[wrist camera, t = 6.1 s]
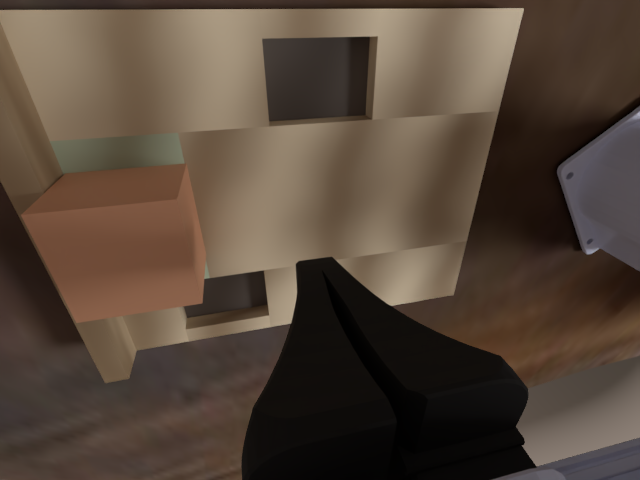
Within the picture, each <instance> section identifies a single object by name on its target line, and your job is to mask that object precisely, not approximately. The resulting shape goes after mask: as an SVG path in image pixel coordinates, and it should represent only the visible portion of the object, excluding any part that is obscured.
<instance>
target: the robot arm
mask: <svg viewBox="0 0 640 480" xmlns="http://www.w3.org/2000/svg"><path fill="white" fill-rule="evenodd" d="M557 175H558V178H559V181H560V184H561V187H562V190H563V193H564V196H565V199H566V202H567V205H568V208H569V211H570V214H571V218H572V221H573V224H574V227H575V230H576V233H577V236H578V239H579V242H580V245H581V248H582V251H583V252H584V253H586V254H592V253H594V252H595V251H597V250H598V249H600V248H601V249H602V250H604V251H606V252H607V253H609V254H611V255H612V256H614V257H616V258H618V259H619V260H621V261H623V262H624V263H626V264H628V265H629V266H631V267H633V268H634V269H636V270H638V271H640V106H639V107H638V108H636V109H635V110H634V111H632V112H631V113H630V114H628V115H627V116H626V117H624V118H623V119H621V120H620V121H619V122H617V123H616V124H615V125H613V126H612V127H611V128H609V129H608V130H606V131H605V132H604V133H602V134H601V135H600V136H598V137H597V138H596V139H594V140H593V141H591V142H590V143H589V144H587V145H586V146H585V147H583V148H582V149H581V150H579V151H578V152H576V153H575V154H574V155H572V156H571V157H570V158H568V159H567V160H566V161H564V162H563V163H562V164H560V165H559V167H558V169H557ZM296 281H297V297H296V303H295V308H294V313H293V318H292V322H291V325H290V329H289V332H288V335H287V338H286V341H285V344H284V346H283V349H282V352H281V354H280V357H279V359H278V361H277V364H276V366H275V368H274V370H273V372H272V374H271V376H270V378H269V380H268V382H267V384H266V386H265V388H264V390H263V391H262V393H261V395H260V396H259V398H258V400H257V402H256V403H255V405H254V407H253V410H252V414H251V417H250V421H249V425H248V428H247V432H246V437H245V441H244V447H243V453H242V480H640V438H637V439H633V440H630V441H626V442H623V443H619V444H615V445H612V446H609V447H605V448H601V449H598V450H594V451H591V452H587V453H584V454H580V455H576V456H573V457H569V458H566V459H562V460H558V461H555V462H551V463H548V464H544V465H541V466H537V467H536V466H535V464H534V463H533V461H532V460H531V459H530V457H529V455H528V454H527V453H526V451H525V450H524V449H523V447H522V446H521V445H524V443H525V441H524V438H523V437H522V435H521V434H520V432H519V431H518V429H517V428H516V425H517V423H518V421H519V419H520V417H521V415H522V413H523V411H524V409H525V406H526V403H527V400H528V388H527V387H526V386H525V384H524V383H523V382H522V381H521V379H520V378H519V377H518V376H517V374H516V373H515V372H514V371H513V369H512V368H511V367H510V366H509V365H508V364H507V363H506V362H505V360H504V359H503V358H502V357H501V356H499V355H496V354H493V353H490V352H487V351H484V350H481V349H478V348H475V347H472V346H469V345H467V344H464V343H462V342H459V341H457V340H454V339H452V338H450V337H447V336H445V335H443V334H440V333H438V332H436V331H434V330H432V329H430V328H428V327H426V326H424V325H422V324H420V323H418V322H416V321H414V320H413V319H411V318H409V317H407V316H406V315H404V314H403V313H401V312H399V311H398V310H396V309H394V308H393V307H391V306H390V305H388V304H387V303H385V302H384V301H383V300H381V299H380V298H379V297H377V296H376V295H375V294H373V293H372V292H371V291H370V290H368V289H367V288H366V287H365V286H364V285H362V284H361V283H360V282H359V281H358V280H357V279H355V278H354V277H353V276H352V275H351V274H350V273H349V272H348V271H347V270H346V269H345V268H344V267H342V266H341V265H340V264H339V263H338V262H337V261H336V260H335V259H334V258H333V257H325V258H317V259H310V260H303V261H298V262H297V263H296Z"/></svg>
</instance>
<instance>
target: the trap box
mask: <svg viewBox="0 0 640 480" xmlns="http://www.w3.org/2000/svg"><path fill="white" fill-rule="evenodd" d="M523 11H524V8H454V9H159V10H0V181H1V183H2V185H3V187H4V189H5V191H6V193H7V195H8V197H9V199H10V201H11V203H12V205H13V206H14V208H15V210H16V212H17V214H18V216H19V218H20V220H21V222H22V224H23V226H24V228H25V230H26V231H27V233H28V235H29V237H30V239H31V241H32V243H33V245H34V247H35V249H36V251H37V253H38V255H39V256H40V258H41V260H42V262H43V264H44V266H45V268H46V270H47V272H48V274H49V276H50V278H51V280H52V282H53V283H54V285H55V287H56V289H57V291H58V293H59V295H60V297H61V299H62V301H63V303H64V305H65V307H66V308H67V310H68V312H69V314H70V316H71V318H72V320H73V322H74V324H75V326H76V328H77V330H78V332H79V333H80V335H81V337H82V339H83V341H84V343H85V345H86V347H87V349H88V351H89V353H90V355H91V357H92V358H93V360H94V362H95V364H96V366H97V368H98V370H99V372H100V374H101V376H102V378H103V380H104V382H105V383H108V382H113V381H119V380H124V379H129V377H130V373H131V369H132V366H133V362H134V358H135V354H136V351H137V350H142V349H148V348H154V347H159V346H165V345H171V344H176V343H182V342H188V341H194V340H199V339H205V338H211V337H216V336H222V335H228V334H233V333H239V332H245V331H251V330H256V329H262V328H268V327H273V326H279V325H285V324H290V323H291V322H292V318H293V313H294V308H295V303H296V297H297V281H296V263H297V262H298V261H303V260H310V259H317V258H325V257H333V258H334V259H335V260H336V261H337V262H338V263H339V264H340V265H341V266H342V267H344V268H345V269H346V270H347V271H348V272H349V273H350V274H351V275H352V276H353V277H354V278H355V279H357V280H358V281H359V282H360V283H361V284H362V285H364V286H365V287H366V288H367V289H368V290H370V291H371V292H372V293H373V294H375V295H376V296H377V297H379V298H380V299H381V300H383V301H384V302H385V303H387V304H388V305H390V306H393V305H399V304H404V303H410V302H416V301H421V300H427V299H433V298H438V297H444V296H450V295H454V291H455V287H456V283H457V279H458V275H459V271H460V266H461V262H462V258H463V254H464V250H465V246H466V242H467V238H468V234H469V230H470V226H471V222H472V218H473V214H474V210H475V206H476V201H477V197H478V193H479V189H480V185H481V181H482V177H483V173H484V169H485V165H486V161H487V157H488V153H489V149H490V145H491V141H492V136H493V132H494V128H495V124H496V120H497V116H498V112H499V108H500V104H501V100H502V96H503V92H504V88H505V84H506V80H507V76H508V71H509V67H510V63H511V59H512V55H513V51H514V47H515V43H516V39H517V35H518V31H519V27H520V23H521V19H522V15H523ZM186 163H187V168H188V172H189V177H190V182H191V186H192V191H193V195H194V200H195V205H196V209H197V214H198V219H199V223H200V228H201V232H202V237H203V242H204V246H205V251H206V263H205V276H204V290H203V303H202V304H196V305H189V306H183V307H176V308H170V309H164V310H157V311H151V312H144V313H138V314H132V315H125V316H119V317H112V318H106V319H100V320H93V321H87V322H81V323H76V321H75V320H74V318H73V316H72V314H71V312H70V310H69V308H68V306H67V304H66V302H65V300H64V298H63V296H62V294H61V292H60V290H59V288H58V286H57V284H56V283H55V281H54V279H53V277H52V275H51V273H50V271H49V269H48V267H47V265H46V263H45V261H44V259H43V257H42V255H41V253H40V251H39V249H38V247H37V246H36V244H35V242H34V240H33V238H32V236H31V234H30V232H29V230H28V228H27V226H26V224H25V222H24V220H23V218H22V216H21V214H23V213H24V212H25V211H26V210H27V209H28V208H29V207H30V206H31V205H32V204H33V203H34V202H35V201H36V200H37V199H39V198H40V197H41V196H42V195H43V194H44V193H45V192H46V191H47V190H48V189H49V188H50V187H51V186H52V185H54V184H55V183H56V182H57V181H58V180H59V179H60V178H61V177H62V176H63V175H64V174H65V173H77V172H89V171H101V170H113V169H125V168H137V167H149V166H161V165H174V164H186Z"/></svg>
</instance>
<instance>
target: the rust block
mask: <svg viewBox="0 0 640 480" xmlns="http://www.w3.org/2000/svg"><path fill="white" fill-rule="evenodd" d="M21 216H22V218H23V220H24V222H25V224H26V226H27V228H28V230H29V232H30V234H31V236H32V238H33V240H34V242H35V244H36V246H37V247H38V249H39V251H40V253H41V255H42V257H43V259H44V261H45V263H46V265H47V267H48V269H49V271H50V273H51V275H52V277H53V279H54V281H55V283H56V284H57V286H58V288H59V290H60V292H61V294H62V296H63V298H64V300H65V302H66V304H67V306H68V308H69V310H70V312H71V314H72V316H73V318H74V320H75V321H76V323H81V322H87V321H93V320H100V319H106V318H112V317H119V316H125V315H132V314H138V313H144V312H151V311H157V310H164V309H170V308H176V307H183V306H189V305H196V304H202V303H203V290H204V276H205V263H206V251H205V246H204V242H203V237H202V232H201V228H200V223H199V219H198V214H197V209H196V205H195V200H194V195H193V191H192V186H191V182H190V177H189V172H188V168H187V163H186V164H174V165H161V166H149V167H137V168H125V169H113V170H101V171H89V172H77V173H65V174H64V175H63V176H62V177H61V178H60V179H59V180H58V181H57V182H56V183H55V184H54V185H52V186H51V187H50V188H49V189H48V190H47V191H46V192H45V193H44V194H43V195H42V196H41V197H40V198H39V199H37V200H36V201H35V202H34V203H33V204H32V205H31V206H30V207H29V208H28V209H27V210H26V211H25V212H24V213H23V214H21Z"/></svg>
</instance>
